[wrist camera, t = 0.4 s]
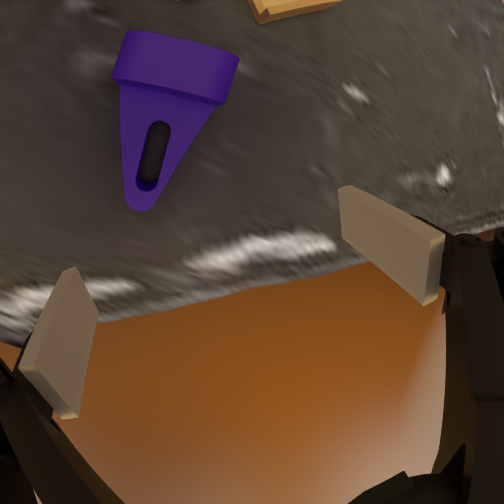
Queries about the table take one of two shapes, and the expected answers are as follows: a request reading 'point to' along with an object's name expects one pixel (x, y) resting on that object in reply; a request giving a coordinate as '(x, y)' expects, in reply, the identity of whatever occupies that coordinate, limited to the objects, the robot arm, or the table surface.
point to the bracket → (165, 101)
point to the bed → (285, 8)
